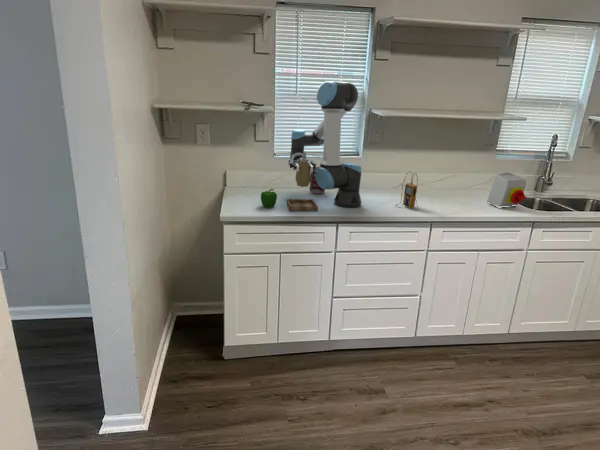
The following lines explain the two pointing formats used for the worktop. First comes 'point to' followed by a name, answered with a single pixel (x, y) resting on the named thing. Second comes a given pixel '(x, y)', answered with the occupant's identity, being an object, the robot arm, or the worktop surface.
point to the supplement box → (315, 183)
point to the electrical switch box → (507, 190)
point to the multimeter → (410, 194)
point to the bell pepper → (268, 198)
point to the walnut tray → (302, 205)
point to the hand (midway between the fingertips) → (305, 169)
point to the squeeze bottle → (303, 172)
